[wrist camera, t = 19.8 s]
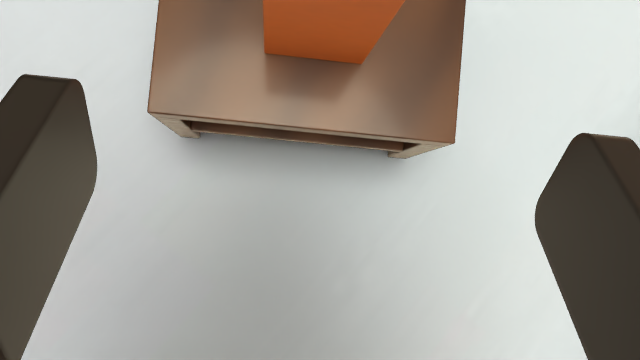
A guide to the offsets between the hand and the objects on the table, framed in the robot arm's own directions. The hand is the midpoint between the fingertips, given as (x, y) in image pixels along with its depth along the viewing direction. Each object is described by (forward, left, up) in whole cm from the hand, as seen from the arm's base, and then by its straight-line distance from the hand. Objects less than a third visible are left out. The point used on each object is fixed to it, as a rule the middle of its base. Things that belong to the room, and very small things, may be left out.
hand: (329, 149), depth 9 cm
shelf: (0, +8, -24) cm, 26 cm away
